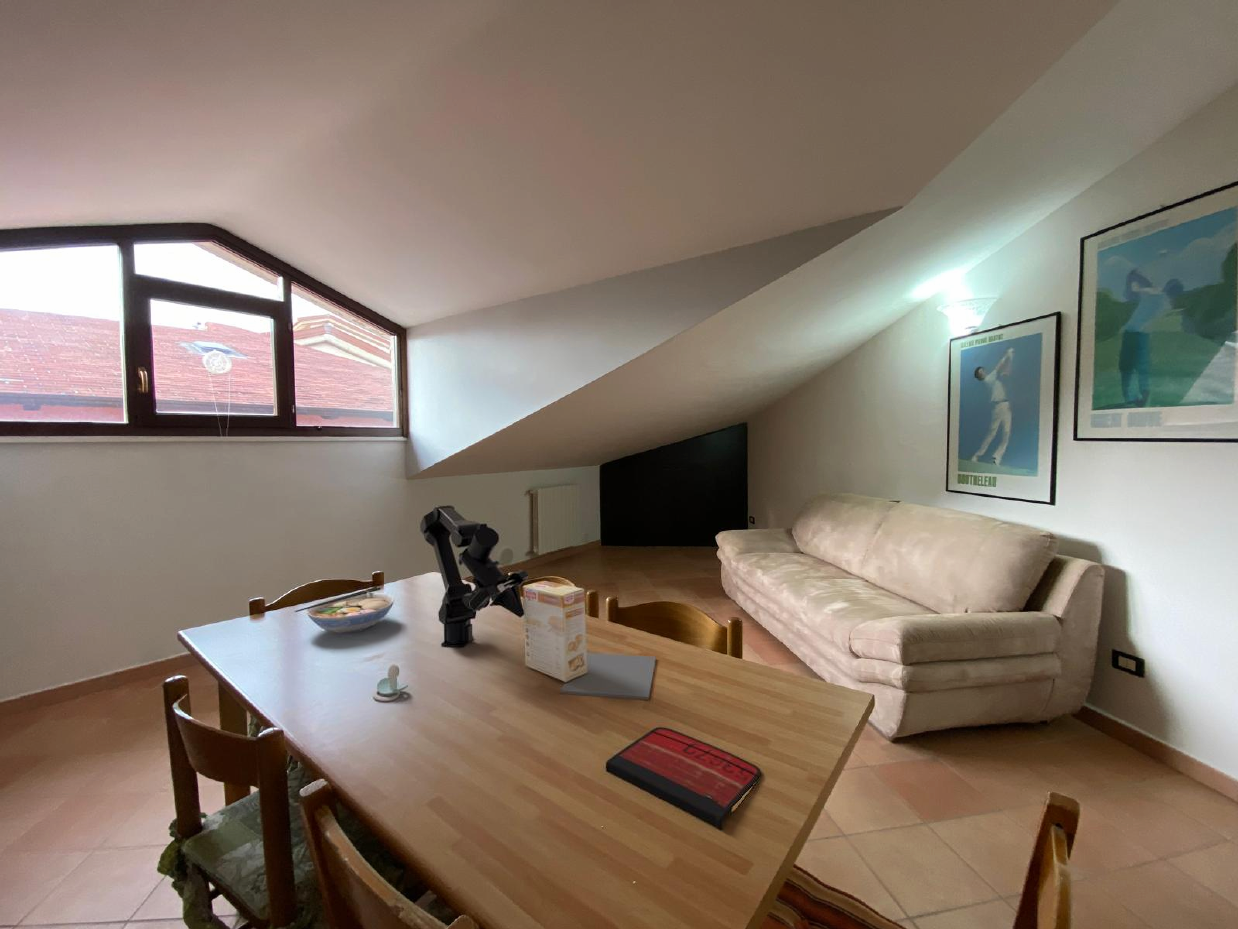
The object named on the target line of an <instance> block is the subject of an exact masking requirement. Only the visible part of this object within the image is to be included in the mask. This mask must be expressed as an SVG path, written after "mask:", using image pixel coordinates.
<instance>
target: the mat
mask: <svg viewBox="0 0 1238 929" xmlns="http://www.w3.org/2000/svg"><path fill="white" fill-rule="evenodd" d="M656 660H657V656H648V655H647V656H646V655H631V654H616V653H615V654H614V653H598V652H597V653H596V652H587V673H585V674H583V675H581V676H578V677H576V678H573V679H571V680H569V681H567V682H564V684H563V685H562V687H561V689H560V694H565V695H577V696H579V695H581V696H590V697H591V696H593V697H603V698H604V697H606V698H620V699H632V700H633V699H634V700H644V699H646V700H647V701H649V699H650V694H651V688H652V684H651V683H652V682H653V678H654V673H653V672H654V671H655V666H656V662H655V661H656ZM646 700H645V701H646Z"/></svg>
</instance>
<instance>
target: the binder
mask: <svg viewBox="0 0 1238 929" xmlns="http://www.w3.org/2000/svg"><path fill="white" fill-rule="evenodd" d="M605 772H607V773H609V774H611V775H613V776H615V777H617V778H618V779H621V780H623V781H624V782H627V783H629V784H631V785H632V786H634V787H637V788H639V789H640V790H642V791H645V792H646V793H648V794H649V795H652V796H653V797H656V798H657V797H658V799H659V800H661V799H662V801H664V802H665V801H666V802H665V803H667V802H668V804H669V803H670V805H671V804H672V805H671V806H673V805H674V807H676V808H678V809H680V810H681V811H683V812H685V813H687V814H688V815H690V816H692V817H695V818H696V819H698V818H699V819H698V820H700V821H702V822H705V823H707V824H709V825H710V826H712V827H714V828H716V829H717V830H719V831H722V830H723V817H725V816H726V815H727V814H728V813H729V812H731V809H732V807H733V806H734V805H735V804H736V803H737V802H738V801H739V800H740V799H741V798H742V796H743V795H744V794H745V793H746V792H747V791H748V790H749V789H750V788H751V787H752V786H753V784H754V783H755V782H756V781H757V780H758V779H759V780H760V778H761V776H762V770H761V769H760V767H758V766H757V765H755V764H754V763H752V762H749V761H747V760H745V759H743V758H741V757H739V756H738V755H735V754H732V753H731V752H728V751H726V750H723V749H721V748H719V747H717V746H714V745H712V744H710V743H706V742H704V741H702V740H700V739H696V738H694V737H691V736H690V735H687V734H684V733H682V732H679V731H676V730H674V729H671V728H668V727H666V726H665V727H664V726H660V727H659V726H658V727H655V728H653V729H651V730H649V732H646V733H645V735H642V736H641V737H640V738H638V739H636V740H635V741H633V742H632V743H631V744H629V745H628V746H626V747H624V748H623V749H622V750H620V751H619V752H617V753H615V755H613V756H611V757H610V758H609V759H608V760H607V761H605ZM759 777H760V778H759ZM759 780H758V781H759ZM758 781H757V782H758Z"/></svg>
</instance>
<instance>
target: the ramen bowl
mask: <svg viewBox="0 0 1238 929" xmlns="http://www.w3.org/2000/svg"><path fill="white" fill-rule="evenodd" d="M380 590H381V587H378V586H374V587H371V588H366V589H364V590H363V589H362V590H360V591H356V592H353V593H351V594H343V595H339V596H333V597H328V598H326V599H323V600H319V601H317V602H315V603H313V604H311V605H309V606H307V607H304V608H303V607H302V608H301V609H297V610H294V611H293V612H294V613H297V612H301V611H304V610H306V611H305V613H306V614H307V616H308V618H310V619H311V621H312V622H313V623H314V624H316V625H317V626H318V627H319V628H320V629H323V630H325V631H329V632H336V633H340V634H353V633H358V632H361V631H363V630H365V629H367V628H369V627H370V626H373V625H376V624H377V623H378V622H379V621H381V620H382V619H383V618H384V617H386V616H387V614H389V612H390V610H391V608H392V607H393V605H394V602H395V597H394V596H393V595H392V594H389V593H384V592H377V591H380Z"/></svg>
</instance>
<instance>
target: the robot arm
mask: <svg viewBox="0 0 1238 929" xmlns="http://www.w3.org/2000/svg"><path fill="white" fill-rule="evenodd" d="M419 530H420V532H421V534H423V538H424V541H425V542H426V543H428V544H430V545H431V546H432V547H433V551H434V554H435V557H436V562H437V565H438V568H439V573H440V574H441V575H440V576H441V578H442V582H443V586H444V590H445V592H444V594H443V597H442V600H441V601H442V602H441V605H440V608H439V611H438V613H437V614H438V621H439V622H440V623H441V624H442V625H443V642H441V644H440V646H441V647H453V648H455V647H456V648H457V647H459V648H464V647H465V646H467V644H469V643H470V642H472V640H473V639H474V635H473V623H472V621H471V620H475V619H476V617H477V612H480V611H481V610H482V609H484V608H485V609H486V608H487V607H496V606H498V607H502V608H504V609H506V610H507V611H509V612H510V613H512V614H514V615H515V616H516V617H518V618H522V617H524V608H523V603H522V602H523V601H522V598H521V593H520V588H519V587H520V586H521V585H522V584H523V583H524V582H525V581H526V580H527V579H528V578H529V577H530V575H529V574H528V573H527V571H525V570H524V569H520V570H517V571H515V572H512V574H509V572H506V573H505V574H504V573H503V572H502V570H501V569H500V568H499V565H500V562H499V561H498V560H495V561H494V560H492V558H491V555H492V553H494V550H495V548H496V546H497V545H498V543H499V540H500V536H499V533H497V531H496V530H494V529H493V528H492V527H488V525H487V523H480V522H477V521H473V520H467V519H466V518H464V517H463V515H461V514H460V513H459V512H458V511H457V510H455V506H453V505H450V504H449V505H447V504H446V505H437V506H436V507H434V508H433V509H432V511H430V512H428V513H427V514H425V515H424V516H423V517H422V520H421V521H420V526H419ZM450 538H451V540H450ZM451 542H452V543H451ZM452 544H453V545H454V546H455V547H456V548H457V549H460V548H465V549H464V550H463V551H462V552H460V553H459V554H458V563H457V561H456V557H455V554H454V551H453V546H452ZM458 564H459V566H462V565H464V566H465V568H466V569H467V570H468V571H469V572H470V574H472V576H473V579H471V581H472V584H473V585H474V586H475V587H474V589H473V587H472V585H471V584H470V583H464V582H463V580H462V576H461V573H460V569H459V567H458ZM491 601H492V602H491ZM490 602H491V603H490Z"/></svg>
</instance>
